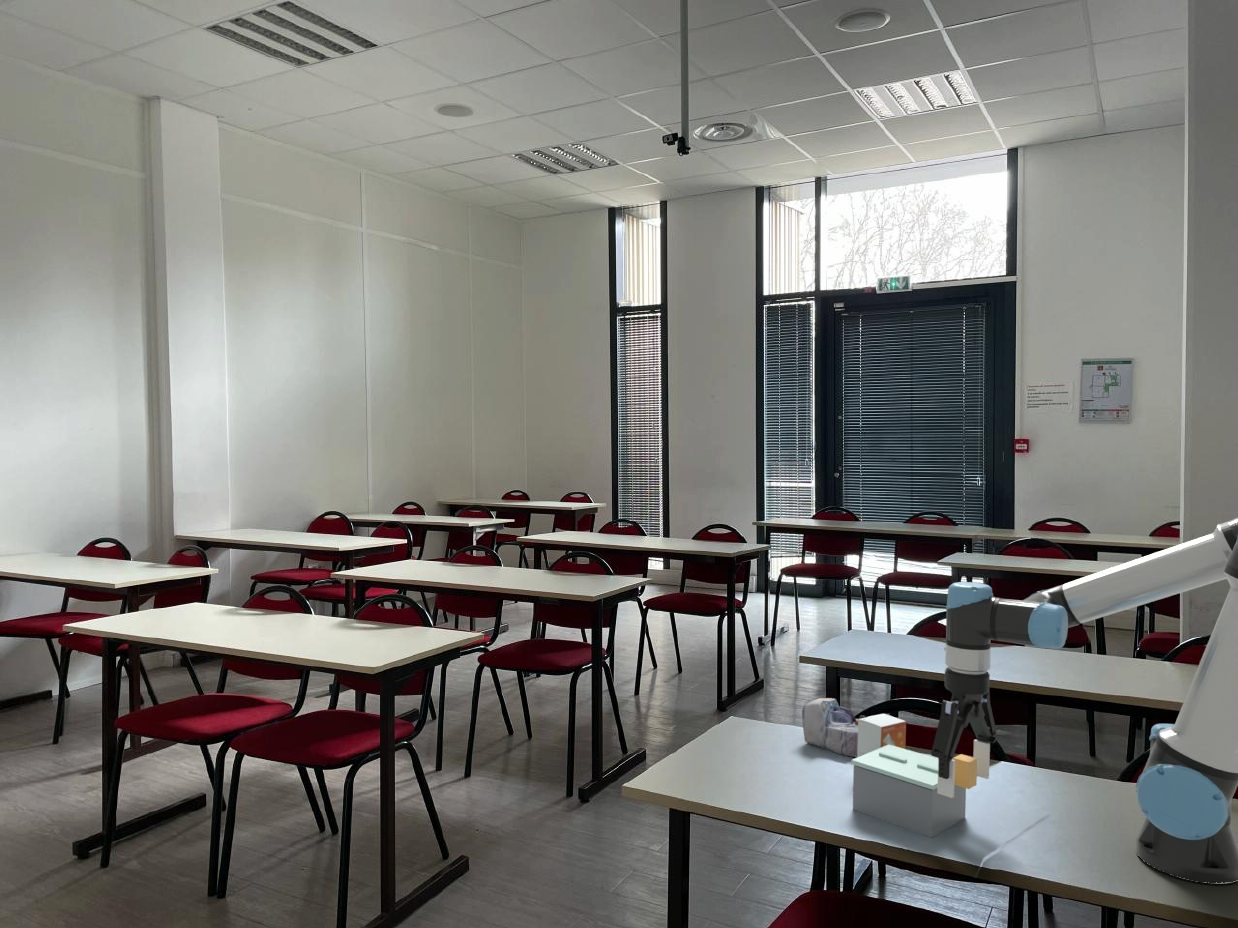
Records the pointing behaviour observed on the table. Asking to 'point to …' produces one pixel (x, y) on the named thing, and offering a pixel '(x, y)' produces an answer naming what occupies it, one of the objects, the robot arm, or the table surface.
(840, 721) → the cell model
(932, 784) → the lid
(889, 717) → the small box
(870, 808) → the tub
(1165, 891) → the table surface
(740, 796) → the table surface
